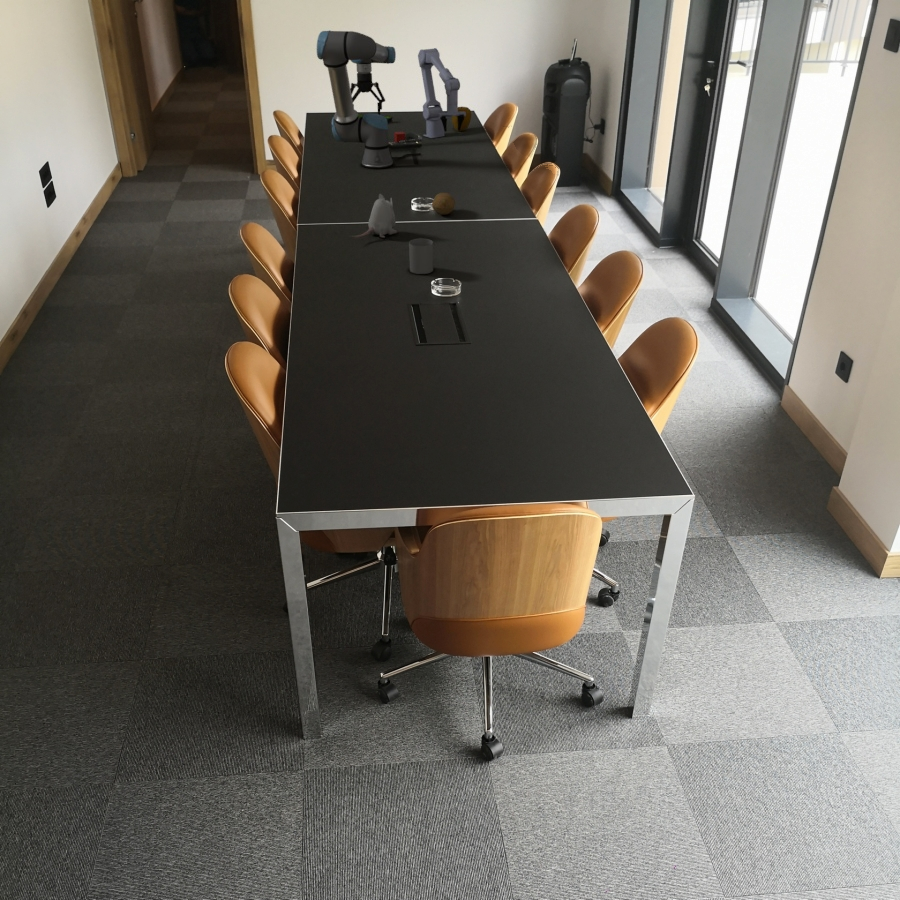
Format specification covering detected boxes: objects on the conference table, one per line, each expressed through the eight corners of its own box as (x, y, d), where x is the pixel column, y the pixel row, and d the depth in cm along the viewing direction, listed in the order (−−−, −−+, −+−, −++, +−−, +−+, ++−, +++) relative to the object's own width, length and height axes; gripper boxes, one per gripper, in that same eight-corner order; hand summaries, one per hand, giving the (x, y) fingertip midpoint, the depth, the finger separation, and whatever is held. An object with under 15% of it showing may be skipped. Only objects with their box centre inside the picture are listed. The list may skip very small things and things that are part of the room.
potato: (453, 208, 369) (453, 189, 365) (456, 218, 357) (456, 199, 353) (431, 208, 368) (430, 189, 364) (432, 218, 356) (432, 199, 352)
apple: (471, 132, 486) (471, 108, 479) (451, 132, 486) (451, 108, 479) (470, 128, 495) (471, 104, 488) (452, 128, 495) (452, 104, 488)
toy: (402, 233, 342) (401, 194, 333) (358, 248, 327) (355, 208, 319) (387, 227, 347) (385, 190, 339) (342, 242, 332) (339, 203, 324)
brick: (394, 141, 470) (394, 132, 467) (403, 140, 471) (402, 131, 468) (396, 143, 466) (396, 134, 463) (405, 142, 467) (405, 133, 464)
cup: (409, 265, 311) (408, 238, 306) (432, 265, 312) (431, 238, 307) (410, 274, 304) (409, 246, 299) (433, 273, 305) (433, 246, 299)
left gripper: (340, 74, 431) (343, 119, 442) (390, 72, 437) (391, 117, 448) (338, 72, 437) (341, 116, 448) (387, 70, 443) (388, 114, 454)
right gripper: (441, 106, 450) (441, 133, 457) (467, 104, 454) (467, 131, 461) (437, 103, 456) (437, 130, 463) (463, 101, 459) (463, 128, 467)
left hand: (366, 117), depth 448 cm, fingers open, 13 cm apart
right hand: (452, 130), depth 463 cm, fingers open, 7 cm apart
